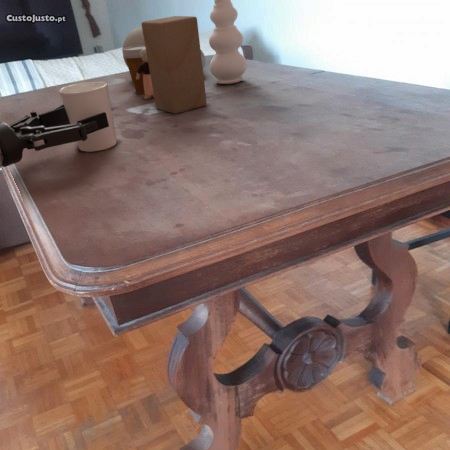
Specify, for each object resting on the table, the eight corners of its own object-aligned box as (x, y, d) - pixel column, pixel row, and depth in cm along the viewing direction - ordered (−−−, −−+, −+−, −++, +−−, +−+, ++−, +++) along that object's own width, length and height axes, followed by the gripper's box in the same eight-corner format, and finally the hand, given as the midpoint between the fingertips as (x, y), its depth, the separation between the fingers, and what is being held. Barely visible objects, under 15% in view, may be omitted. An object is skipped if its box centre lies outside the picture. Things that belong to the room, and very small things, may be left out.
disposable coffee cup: (128, 96, 140) (119, 51, 133) (132, 89, 148) (124, 46, 141) (160, 93, 140) (153, 47, 133) (162, 86, 148) (155, 43, 141)
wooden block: (175, 114, 118) (160, 22, 106) (155, 108, 125) (140, 22, 113) (207, 105, 122) (197, 16, 111) (187, 100, 129) (175, 15, 118)
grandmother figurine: (142, 100, 134) (132, 51, 127) (139, 98, 137) (129, 49, 130) (168, 95, 136) (160, 46, 129) (164, 93, 139) (156, 45, 132)
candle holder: (116, 150, 99) (101, 89, 92) (70, 155, 100) (52, 95, 93) (123, 136, 107) (111, 79, 100) (81, 140, 108) (66, 84, 101)
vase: (236, 87, 136) (227, -17, 122) (204, 86, 141) (193, -14, 127) (254, 78, 143) (248, -21, 129) (223, 78, 149) (214, -18, 134)
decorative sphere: (125, 77, 166) (116, 28, 158) (167, 70, 169) (160, 22, 160) (130, 84, 154) (119, 32, 146) (175, 77, 157) (167, 25, 148)
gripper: (-31, 158, 95) (57, 127, 108) (36, 179, 81) (128, 141, 94) (-47, 120, 91) (47, 93, 104) (20, 135, 77) (120, 101, 90)
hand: (86, 116), depth 99 cm, fingers open, 13 cm apart
